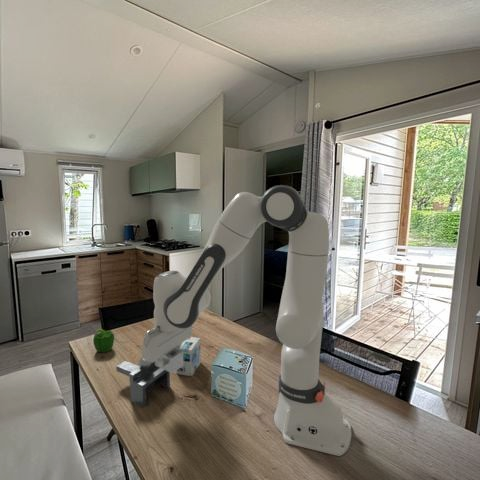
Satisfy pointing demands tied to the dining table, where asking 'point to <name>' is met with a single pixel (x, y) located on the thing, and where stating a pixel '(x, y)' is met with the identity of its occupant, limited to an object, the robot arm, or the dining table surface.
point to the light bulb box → (190, 356)
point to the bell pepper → (103, 340)
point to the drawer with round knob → (143, 379)
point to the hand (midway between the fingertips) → (169, 361)
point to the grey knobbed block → (172, 360)
